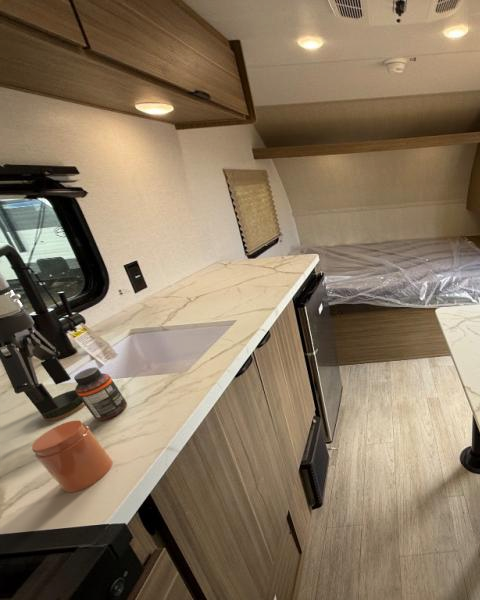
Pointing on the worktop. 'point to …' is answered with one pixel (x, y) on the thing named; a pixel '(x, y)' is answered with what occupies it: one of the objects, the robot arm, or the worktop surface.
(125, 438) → the worktop surface
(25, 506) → the worktop surface
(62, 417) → the coaster
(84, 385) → the supplement bottle
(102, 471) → the jam jar
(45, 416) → the jam lid
